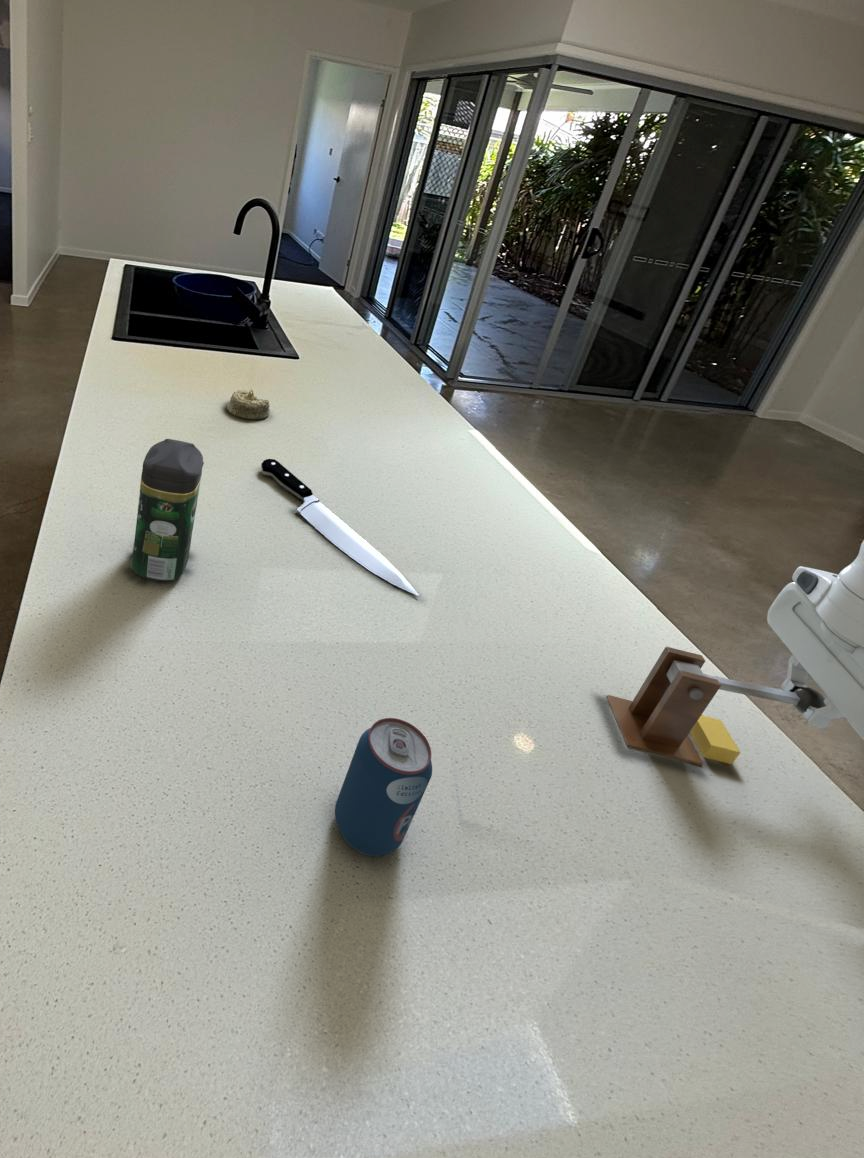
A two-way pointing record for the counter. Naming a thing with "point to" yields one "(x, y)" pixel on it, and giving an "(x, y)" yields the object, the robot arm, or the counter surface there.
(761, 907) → the counter surface
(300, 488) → the chef knife
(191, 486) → the coffee jar
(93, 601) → the counter surface
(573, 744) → the counter surface
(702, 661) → the stand
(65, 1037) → the counter surface
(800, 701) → the grey metal rod
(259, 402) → the cake
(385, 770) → the soda can
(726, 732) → the butter
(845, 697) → the robot arm
